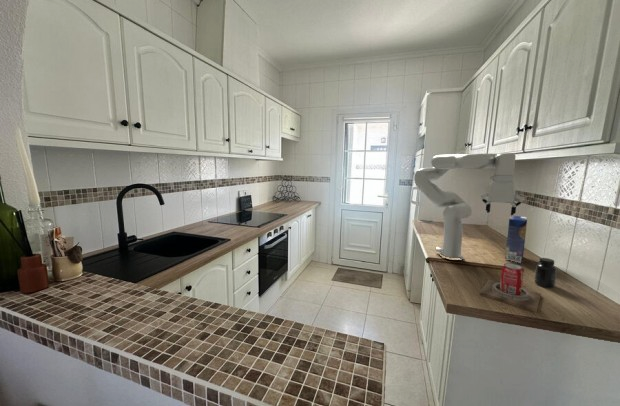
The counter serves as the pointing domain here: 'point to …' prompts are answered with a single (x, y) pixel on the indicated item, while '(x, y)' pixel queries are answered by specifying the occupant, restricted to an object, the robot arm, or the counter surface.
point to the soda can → (511, 279)
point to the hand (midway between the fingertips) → (499, 213)
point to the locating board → (514, 302)
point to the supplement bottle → (545, 273)
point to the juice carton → (516, 238)
